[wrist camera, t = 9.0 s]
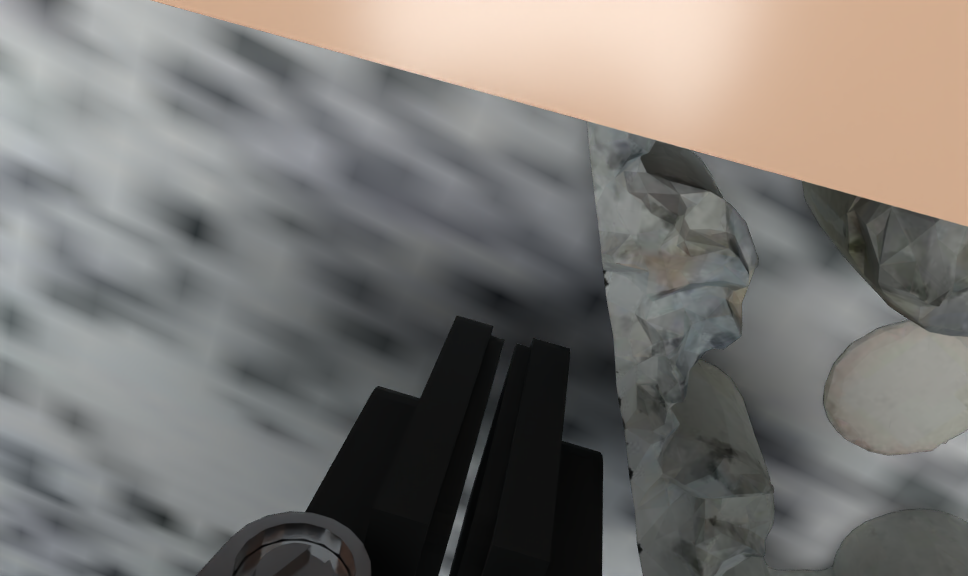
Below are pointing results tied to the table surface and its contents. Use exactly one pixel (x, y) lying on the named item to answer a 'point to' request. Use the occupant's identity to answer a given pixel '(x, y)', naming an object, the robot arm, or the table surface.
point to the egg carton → (718, 322)
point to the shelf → (695, 75)
